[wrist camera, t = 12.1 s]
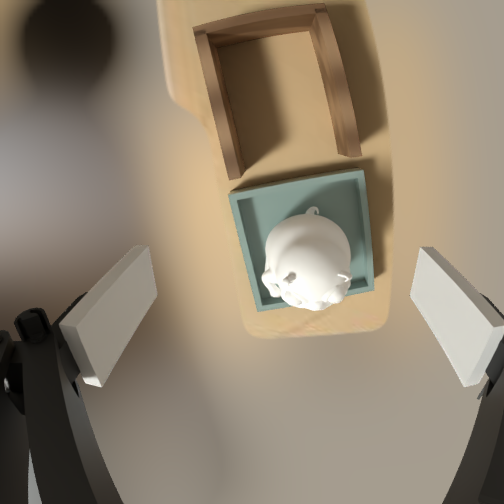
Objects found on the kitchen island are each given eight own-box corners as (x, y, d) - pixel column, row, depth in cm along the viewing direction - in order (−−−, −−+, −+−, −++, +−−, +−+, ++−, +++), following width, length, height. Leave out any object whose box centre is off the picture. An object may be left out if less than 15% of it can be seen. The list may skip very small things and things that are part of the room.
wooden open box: (204, 42, 29) (192, 27, 24) (316, 21, 27) (324, 3, 22) (235, 172, 35) (229, 180, 30) (347, 152, 34) (362, 156, 28)
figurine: (268, 198, 35) (266, 229, 24) (348, 206, 35) (381, 240, 24) (261, 274, 39) (257, 330, 28) (335, 280, 39) (356, 336, 28)
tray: (230, 190, 36) (228, 194, 34) (357, 167, 34) (363, 169, 32) (258, 301, 42) (257, 311, 39) (369, 281, 40) (374, 290, 37)
